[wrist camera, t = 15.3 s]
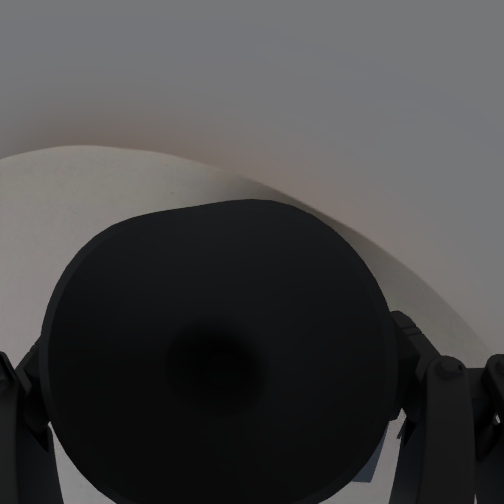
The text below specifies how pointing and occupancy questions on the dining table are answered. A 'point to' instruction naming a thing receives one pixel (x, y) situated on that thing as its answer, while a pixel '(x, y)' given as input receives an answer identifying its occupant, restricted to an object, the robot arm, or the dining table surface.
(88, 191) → the dining table surface
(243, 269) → the pen holder
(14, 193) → the dining table surface
